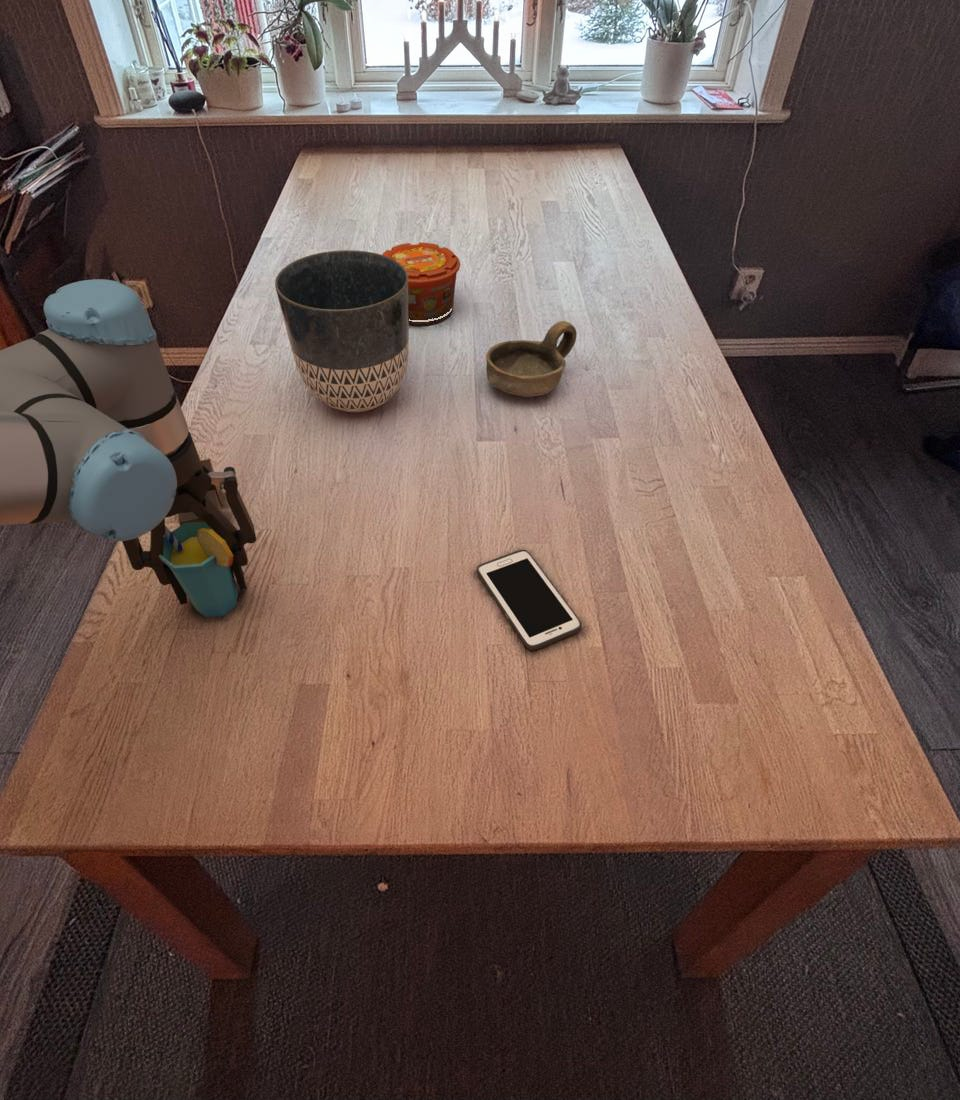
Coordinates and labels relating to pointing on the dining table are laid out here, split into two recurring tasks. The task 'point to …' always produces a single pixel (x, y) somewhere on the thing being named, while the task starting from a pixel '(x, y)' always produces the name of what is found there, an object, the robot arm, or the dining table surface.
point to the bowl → (530, 362)
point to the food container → (428, 279)
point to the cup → (201, 567)
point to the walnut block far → (209, 466)
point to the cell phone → (528, 599)
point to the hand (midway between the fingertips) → (212, 588)
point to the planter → (347, 325)
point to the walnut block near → (192, 517)
